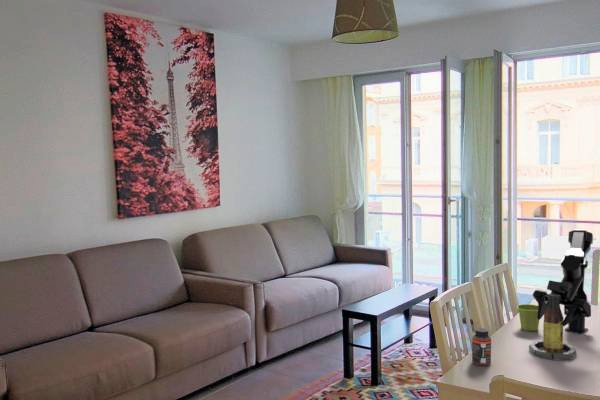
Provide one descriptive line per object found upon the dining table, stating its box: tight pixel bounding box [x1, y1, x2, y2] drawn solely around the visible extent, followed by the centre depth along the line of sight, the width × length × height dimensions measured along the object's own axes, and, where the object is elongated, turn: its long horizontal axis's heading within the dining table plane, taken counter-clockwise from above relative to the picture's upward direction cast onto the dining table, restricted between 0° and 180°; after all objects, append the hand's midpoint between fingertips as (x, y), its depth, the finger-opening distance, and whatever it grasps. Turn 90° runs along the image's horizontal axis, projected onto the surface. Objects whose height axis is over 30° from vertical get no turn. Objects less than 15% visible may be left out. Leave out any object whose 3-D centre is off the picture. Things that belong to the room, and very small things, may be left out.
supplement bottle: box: [471, 327, 492, 367], centre depth 192 cm, size 6×6×11 cm
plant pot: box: [516, 303, 540, 332], centre depth 226 cm, size 9×9×9 cm
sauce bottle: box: [542, 292, 564, 353], centre depth 199 cm, size 6×6×20 cm
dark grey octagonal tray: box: [528, 339, 577, 361], centre depth 200 cm, size 14×14×2 cm
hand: (550, 322), depth 198 cm, fingers open, 9 cm apart
